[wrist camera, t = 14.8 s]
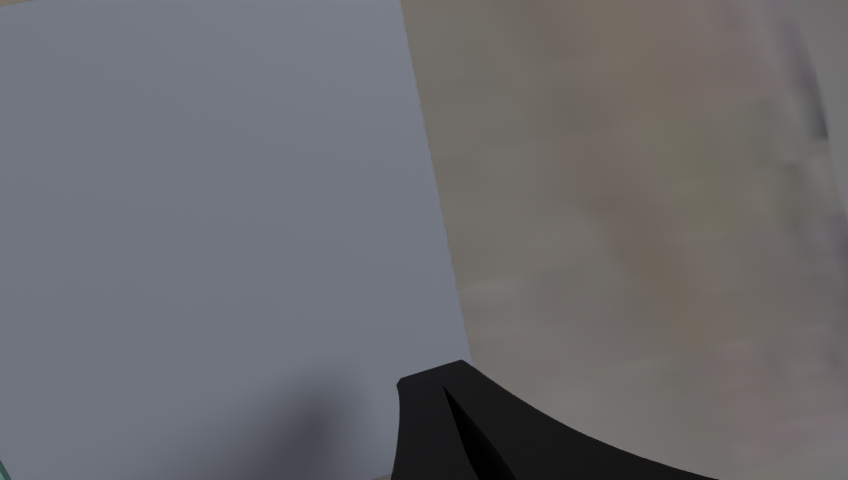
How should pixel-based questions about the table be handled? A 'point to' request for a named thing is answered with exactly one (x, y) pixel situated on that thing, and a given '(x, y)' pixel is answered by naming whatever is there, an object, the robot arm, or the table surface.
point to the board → (214, 239)
